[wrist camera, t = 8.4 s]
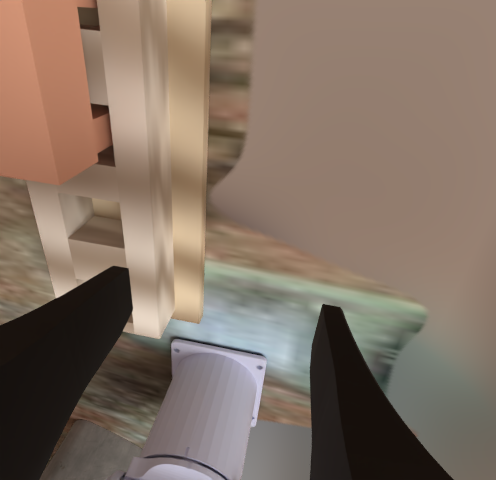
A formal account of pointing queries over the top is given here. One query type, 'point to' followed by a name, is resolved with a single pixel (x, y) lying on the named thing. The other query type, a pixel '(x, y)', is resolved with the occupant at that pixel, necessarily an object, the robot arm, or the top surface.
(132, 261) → the cream wooden flat frame
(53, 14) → the clip
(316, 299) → the top surface
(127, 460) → the hip flask
